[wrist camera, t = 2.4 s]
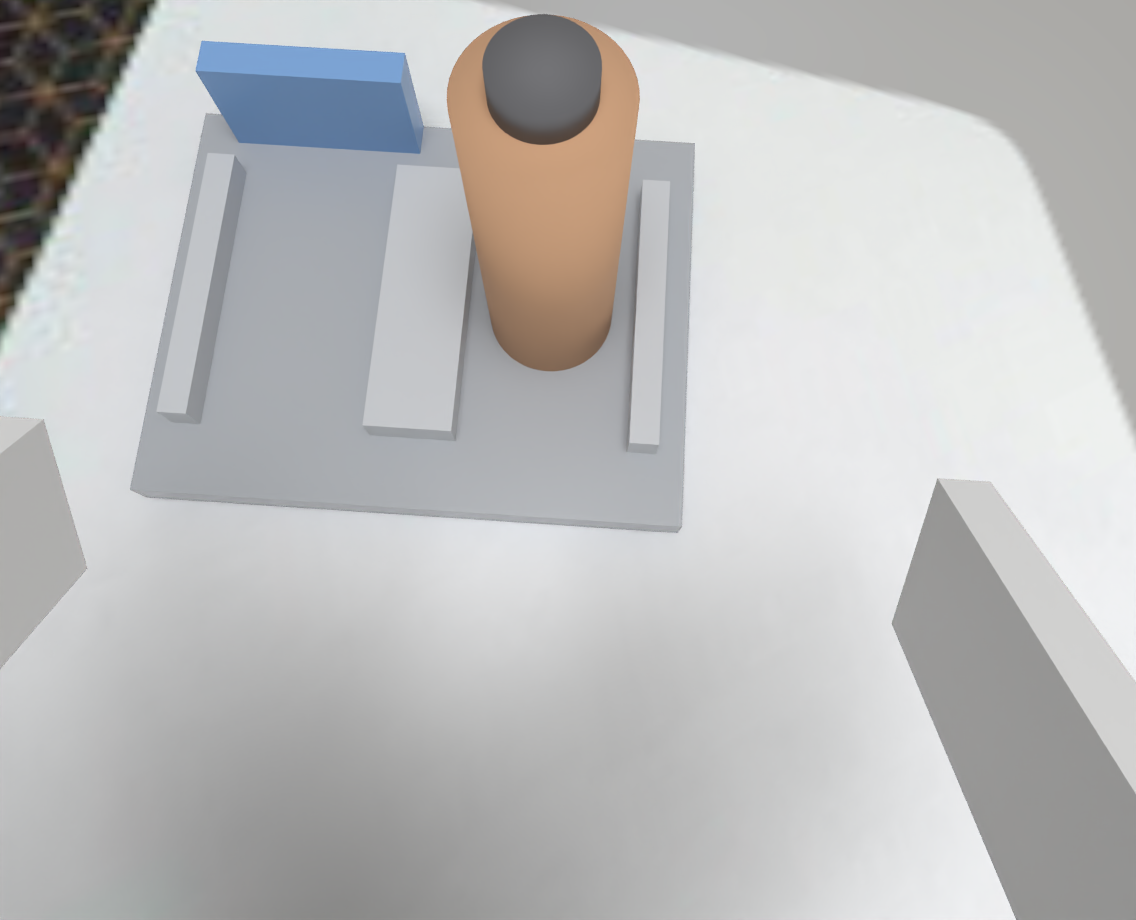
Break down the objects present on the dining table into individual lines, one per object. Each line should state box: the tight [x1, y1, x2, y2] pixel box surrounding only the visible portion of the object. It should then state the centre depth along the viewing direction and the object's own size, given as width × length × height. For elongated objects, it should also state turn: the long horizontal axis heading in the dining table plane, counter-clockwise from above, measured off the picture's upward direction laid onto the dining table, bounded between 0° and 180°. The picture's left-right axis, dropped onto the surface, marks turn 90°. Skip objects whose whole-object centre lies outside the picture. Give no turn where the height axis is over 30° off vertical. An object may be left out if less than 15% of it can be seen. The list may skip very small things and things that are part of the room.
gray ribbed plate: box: [130, 41, 695, 533], centre depth 30 cm, size 15×19×5 cm
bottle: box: [447, 14, 640, 371], centre depth 25 cm, size 4×4×13 cm
